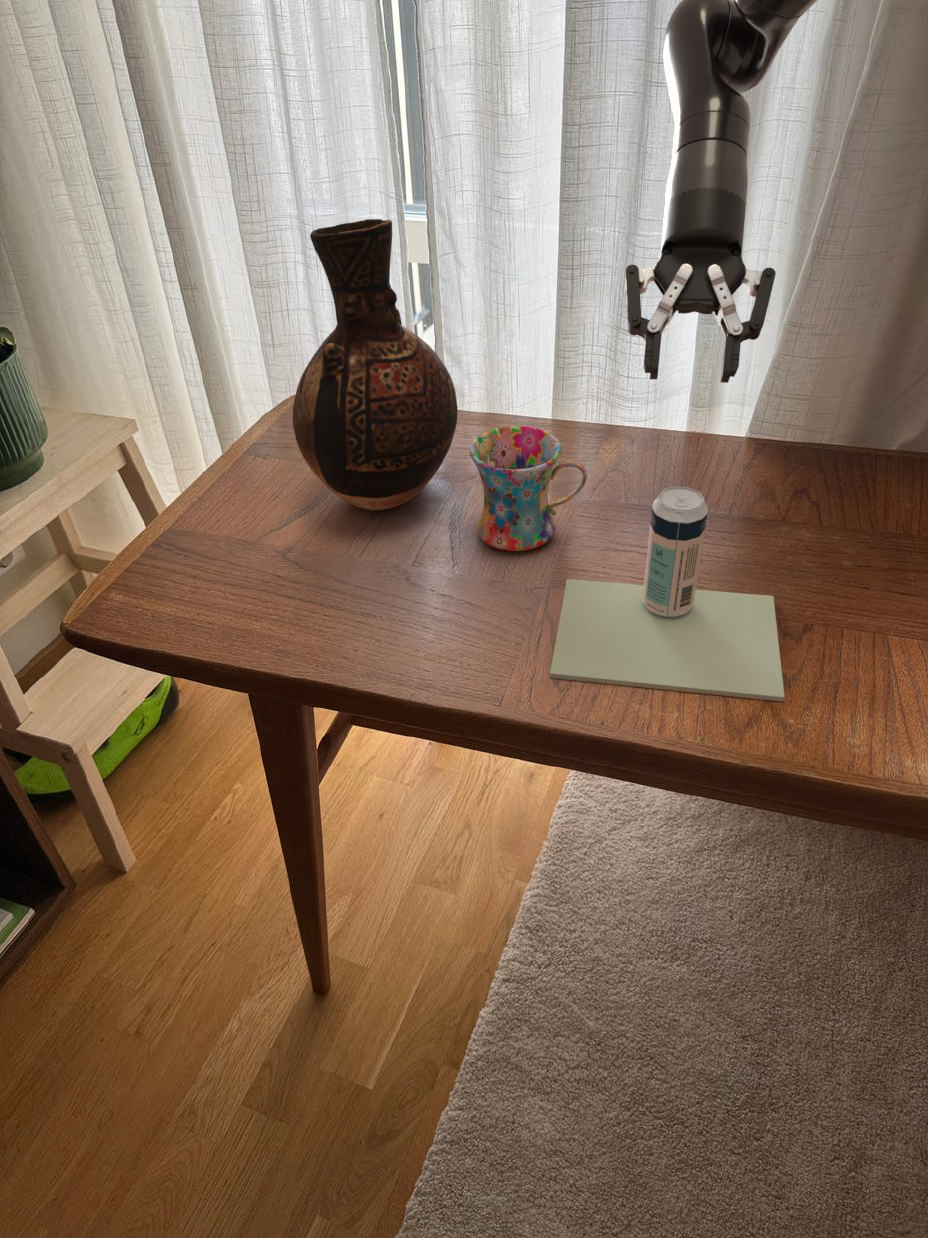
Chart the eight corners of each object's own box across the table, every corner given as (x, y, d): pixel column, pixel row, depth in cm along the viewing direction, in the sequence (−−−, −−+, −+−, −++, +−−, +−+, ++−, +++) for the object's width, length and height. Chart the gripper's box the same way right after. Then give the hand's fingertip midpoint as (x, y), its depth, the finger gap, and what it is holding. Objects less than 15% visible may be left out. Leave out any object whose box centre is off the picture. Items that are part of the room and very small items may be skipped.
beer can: (693, 592, 86) (709, 486, 79) (691, 623, 83) (709, 515, 75) (643, 587, 87) (655, 481, 80) (640, 617, 84) (651, 510, 76)
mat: (772, 600, 86) (773, 595, 85) (783, 702, 75) (784, 697, 75) (566, 583, 89) (566, 578, 89) (549, 678, 79) (549, 673, 79)
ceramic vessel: (412, 554, 94) (383, 267, 75) (274, 523, 100) (214, 249, 81) (487, 460, 109) (479, 199, 90) (363, 438, 115) (330, 189, 96)
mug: (465, 555, 94) (461, 467, 87) (482, 507, 101) (479, 423, 94) (579, 564, 92) (583, 475, 85) (587, 515, 99) (592, 429, 92)
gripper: (628, 183, 82) (611, 360, 80) (791, 184, 79) (776, 366, 78) (627, 226, 89) (612, 388, 88) (776, 228, 87) (762, 395, 85)
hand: (689, 377), depth 83 cm, fingers open, 6 cm apart
